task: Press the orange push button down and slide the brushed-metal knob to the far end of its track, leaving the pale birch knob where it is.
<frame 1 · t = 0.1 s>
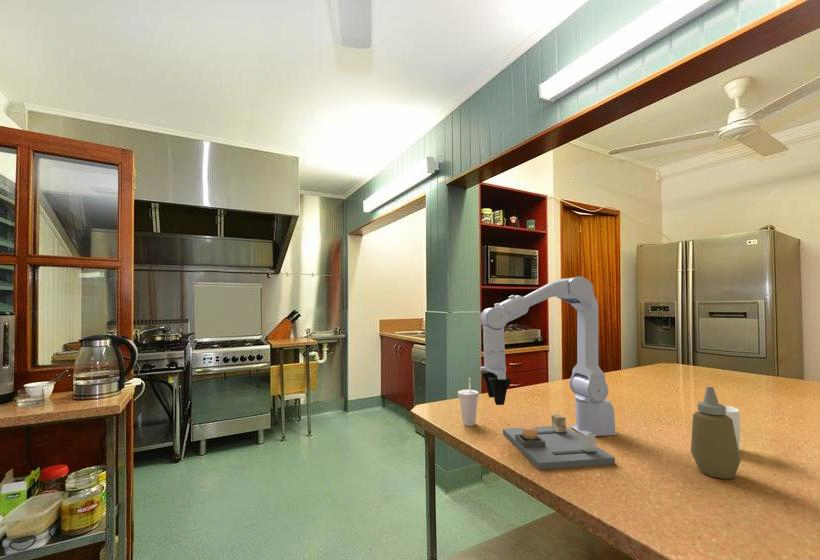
hand: (496, 400, 99), 10 cm above the table, tool pointing down, fingers open, 7 cm apart
white cup: (721, 449, 89), on the table
metal slider: (587, 441, 85), point 4 cm above the table, slide at 0.0 cm
control board: (552, 447, 91), on the table
squeeze bottle: (716, 474, 76), on the table
smoothie: (469, 424, 110), on the table
birch slider: (558, 423, 98), point 4 cm above the table, slide at 0.0 cm
orange button: (529, 432, 91), point 4 cm above the table, slide at 0.0 cm
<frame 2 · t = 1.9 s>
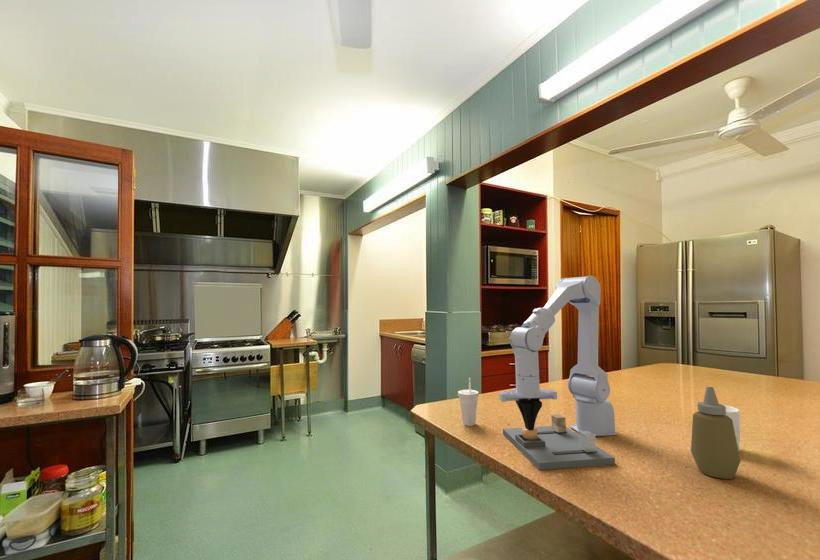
hand: (529, 428, 91), 5 cm above the table, tool pointing down, fingers closed, pressing on orange button
orange button: (529, 432, 91), point 4 cm above the table, slide at 0.1 cm, touching gripper
everything else where it was.
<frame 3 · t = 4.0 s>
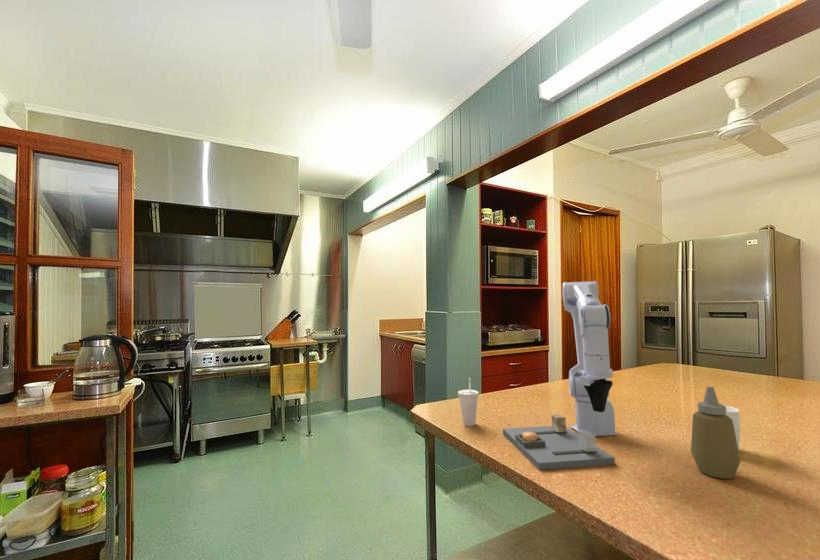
hand: (598, 411, 87), 10 cm above the table, tool pointing down, fingers closed
orange button: (529, 438, 91), point 3 cm above the table, slide at 1.4 cm
everything else where it was.
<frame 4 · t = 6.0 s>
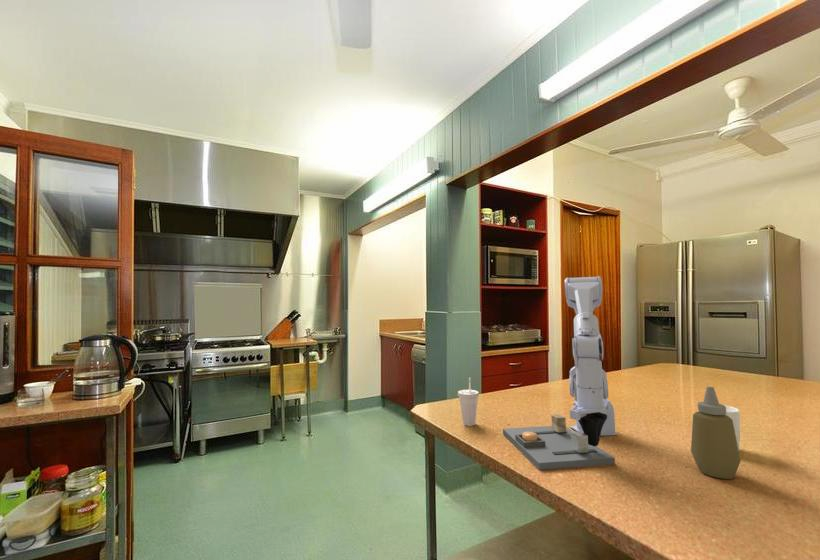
hand: (592, 444, 85), 3 cm above the table, tool pointing down, fingers closed
metal slider: (579, 441, 85), point 4 cm above the table, slide at 1.9 cm, touching gripper
everything else where it was.
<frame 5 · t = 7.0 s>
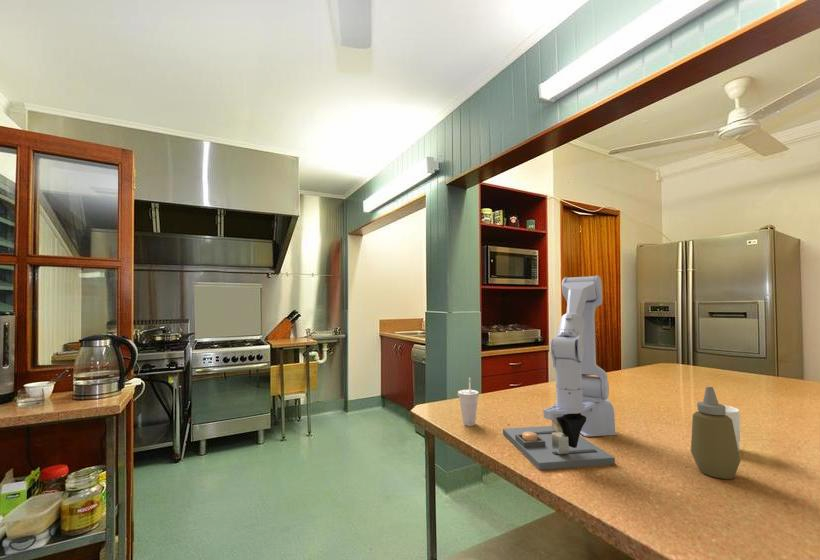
hand: (571, 446, 84), 3 cm above the table, tool pointing down, fingers closed
metal slider: (560, 442, 84), point 4 cm above the table, slide at 6.7 cm, touching gripper
everything else where it was.
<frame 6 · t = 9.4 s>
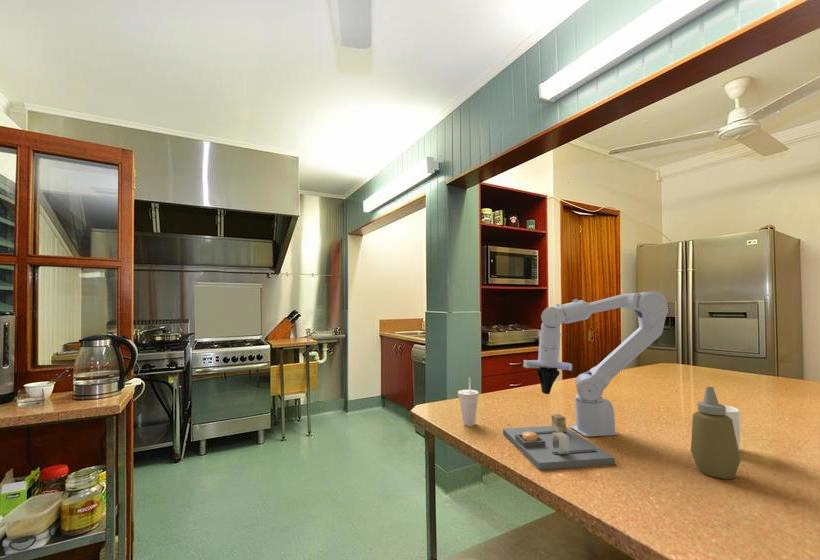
hand: (545, 393, 107), 10 cm above the table, tool pointing down, fingers closed
metal slider: (560, 442, 84), point 4 cm above the table, slide at 6.6 cm
everything else where it was.
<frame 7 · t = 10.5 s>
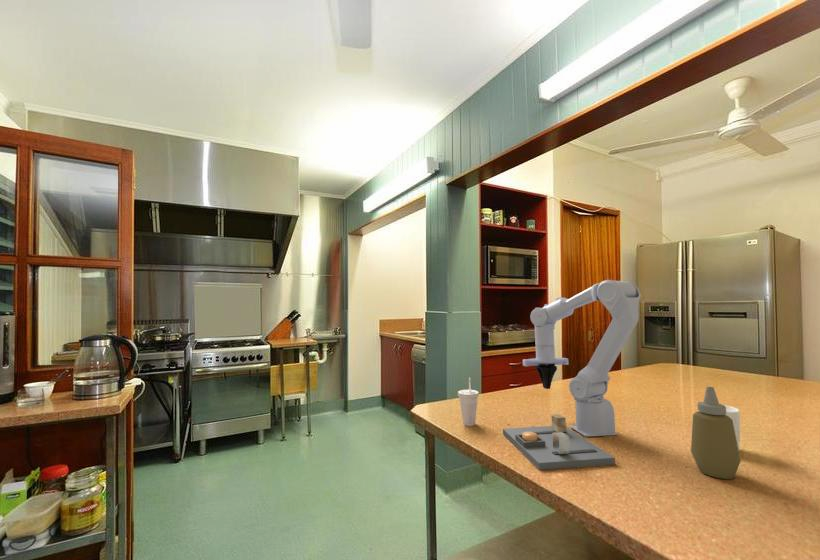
hand: (546, 388, 115), 9 cm above the table, tool pointing down, fingers closed
nothing on the table moved.
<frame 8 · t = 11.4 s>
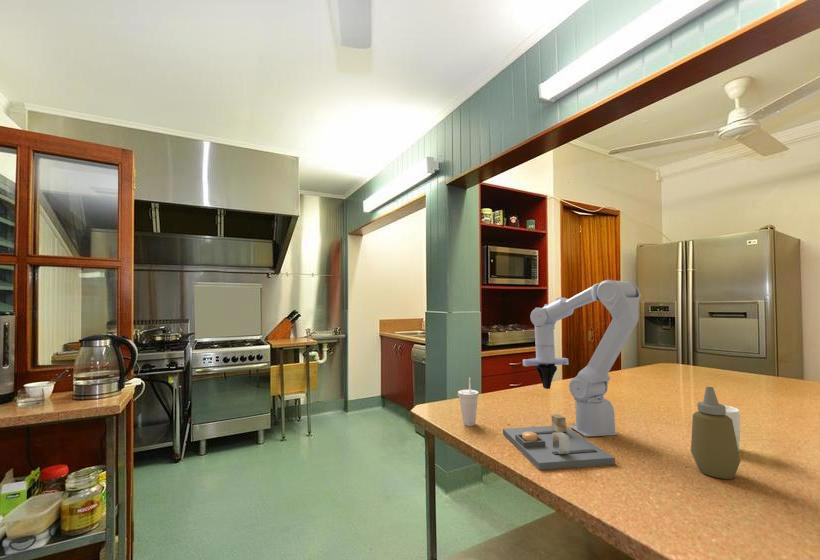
hand: (546, 388, 115), 9 cm above the table, tool pointing down, fingers closed
nothing on the table moved.
at the end: orange button slide at 1.4 cm; metal slider slide at 6.6 cm; birch slider slide at 0.0 cm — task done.
